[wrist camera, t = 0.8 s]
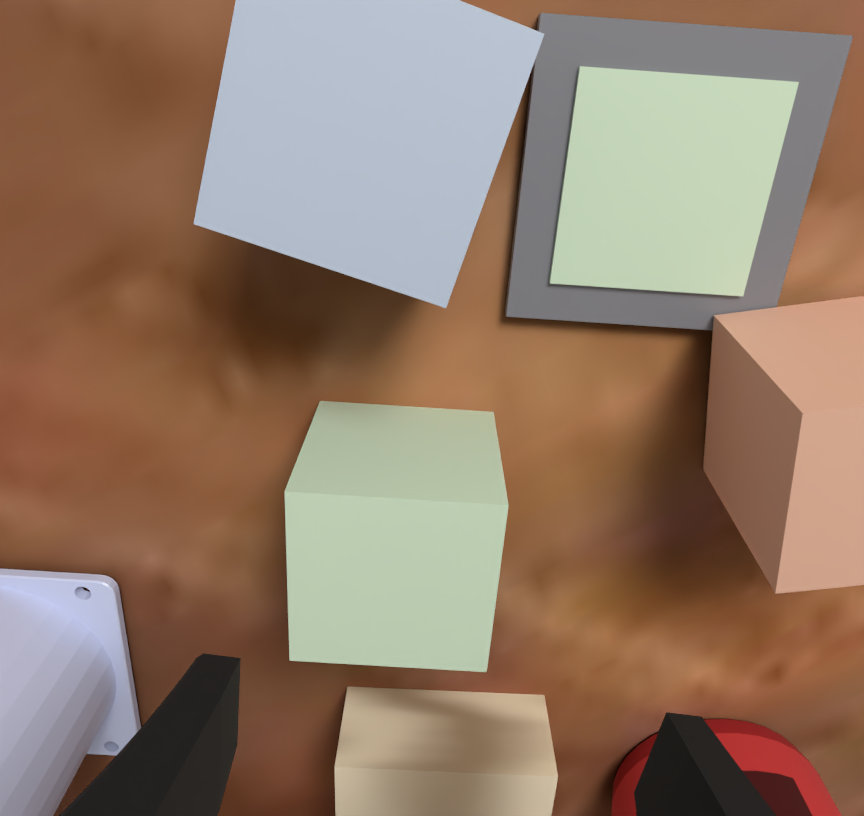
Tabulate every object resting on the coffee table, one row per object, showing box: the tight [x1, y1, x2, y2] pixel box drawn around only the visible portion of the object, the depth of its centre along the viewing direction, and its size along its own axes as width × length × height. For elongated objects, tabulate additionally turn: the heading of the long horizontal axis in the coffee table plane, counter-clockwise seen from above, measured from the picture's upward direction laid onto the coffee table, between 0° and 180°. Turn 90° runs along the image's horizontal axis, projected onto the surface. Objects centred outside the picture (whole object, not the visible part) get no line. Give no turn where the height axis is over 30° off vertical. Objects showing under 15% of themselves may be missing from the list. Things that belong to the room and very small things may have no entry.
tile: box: [505, 13, 853, 330], centre depth 17 cm, size 7×7×1 cm
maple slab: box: [334, 687, 558, 816], centre depth 25 cm, size 7×7×4 cm
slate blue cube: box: [194, 0, 544, 308], centre depth 14 cm, size 5×5×5 cm
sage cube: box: [285, 401, 508, 672], centre depth 19 cm, size 5×5×5 cm
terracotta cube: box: [703, 296, 864, 594], centre depth 17 cm, size 5×5×5 cm
